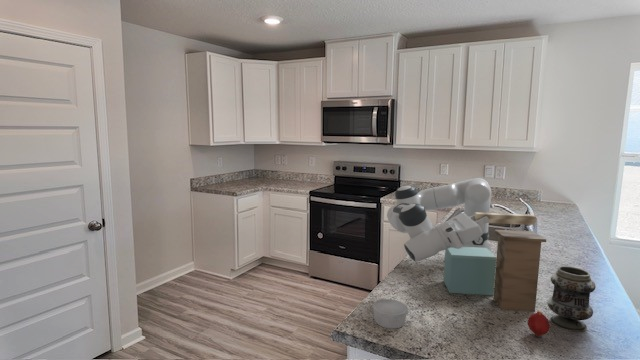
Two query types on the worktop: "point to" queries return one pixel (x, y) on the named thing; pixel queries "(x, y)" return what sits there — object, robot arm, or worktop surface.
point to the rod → (507, 218)
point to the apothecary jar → (571, 298)
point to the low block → (470, 270)
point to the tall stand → (517, 269)
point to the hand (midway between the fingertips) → (485, 216)
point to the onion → (538, 324)
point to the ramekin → (390, 313)
